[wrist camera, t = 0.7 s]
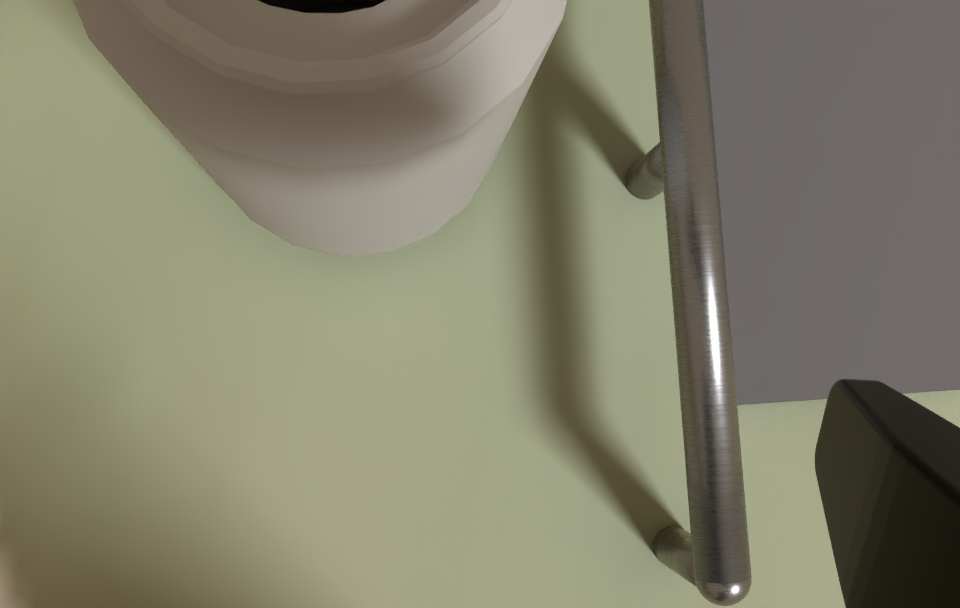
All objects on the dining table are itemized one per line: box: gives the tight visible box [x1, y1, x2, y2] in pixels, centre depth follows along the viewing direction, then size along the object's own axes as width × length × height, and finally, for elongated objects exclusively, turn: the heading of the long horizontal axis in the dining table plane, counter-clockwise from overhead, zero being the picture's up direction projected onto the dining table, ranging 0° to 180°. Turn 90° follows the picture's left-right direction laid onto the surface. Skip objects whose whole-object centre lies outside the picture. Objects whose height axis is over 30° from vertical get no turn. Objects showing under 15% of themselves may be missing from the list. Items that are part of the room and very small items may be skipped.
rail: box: [626, 0, 751, 606], centre depth 22 cm, size 20×13×4 cm, turn 3°
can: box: [74, 0, 567, 256], centre depth 17 cm, size 8×8×12 cm
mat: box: [703, 0, 960, 405], centre depth 24 cm, size 14×12×1 cm
